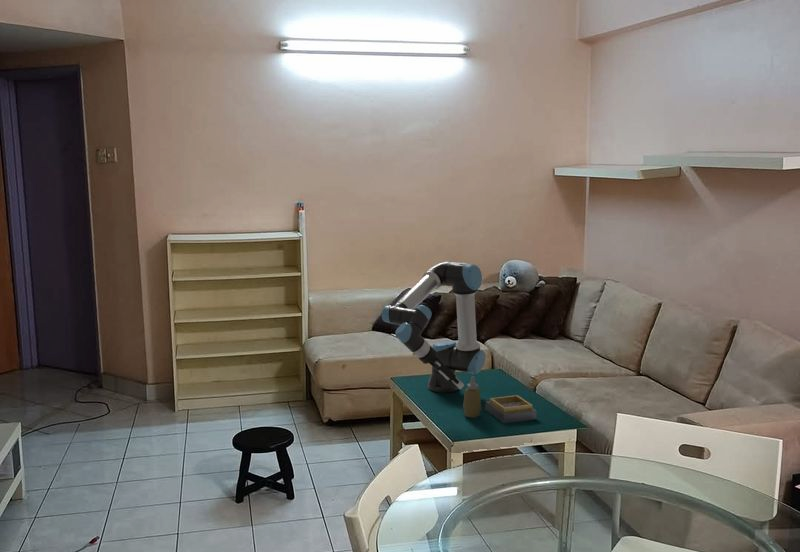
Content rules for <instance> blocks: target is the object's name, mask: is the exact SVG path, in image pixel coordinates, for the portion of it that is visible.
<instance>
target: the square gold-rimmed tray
mask: <svg viewBox="0 0 800 552" xmlns="http://www.w3.org/2000/svg"><path fill="white" fill-rule="evenodd" d="M484 409H485V411H486V412H488V414H490V415H491V416H493V417H494V418H496V419H497V420H498V421H500V422H501V423H503V424H509V423H517V422H526V421H532V420H533V421H534V420H537V415H538V414H537V413H538V412H537V409H535V408H534V405H533V404H532V403H530V402H529V401H527V400H525V398H523V397H521V396H520V395H518V394H515V395H506V396H499V397H489V400H486V401H485V408H484Z"/></svg>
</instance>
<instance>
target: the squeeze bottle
mask: <svg viewBox="0 0 800 552" xmlns="http://www.w3.org/2000/svg"><path fill="white" fill-rule="evenodd" d="M463 397H464V398H463V404H462V409H463V412H464V416H465V417H468V418H479V415H480V412H481V411H482V403H481V390H480V389H479V384H478V383H476V379H475V376H474V375H473V376H471V377H470V381H469V383H467V386H466V389H464V396H463Z"/></svg>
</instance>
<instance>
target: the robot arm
mask: <svg viewBox="0 0 800 552" xmlns="http://www.w3.org/2000/svg"><path fill="white" fill-rule="evenodd" d="M482 282H483V275H482V271H481V269H480V267H478V265H476V264H473V263H470V262H458V261H452V260H451V261H450V260H446V261H443V262H442V261H441V262H440V263H437V264H434V266H432V267H430V268H429V269H428V270H426V271H425V272H424V273H423V275H422V278H421V279H420V280H419V281H418V282H417V283H416V284H415V285H413V286H412V287H411V289H409V290H408V291H407V292H406V293H405V294H404V295H403V296H401V298H400V299H399V300H397V301H396V303H394V305H385V306H384V307H383V308H382V311H381V319H382V321H383V322H385V323H388V324H391V325H398V327H397V328H396V330H395V337H396V338H397V339H398V340H399V341H400V343H401V344H403V345H404V346H405V347H406V349H408V350H409V351H410V352H411V353H412V356H416V357H417V359H419V360H420V361H421V363H422V364H425V365H427V364H429V365H431V373H430V376H429V379H428V382H427V389H428V390H430V391H432V392H435V393H453V392H456V391H458V390H462V388H464V386H465V384H464V383H463V382H462V381H461V380H460V379H459V378H458V376H457V374H456V371H458V372H462V373H466V374H473V375H476V374H478V373H480V372H481V371H482V369H483V367H484V365H485V363H486V352H485V351H484V350H483V349H481V344H480V343H479V342H478V341H477V324H476V323H477V322H476V321H477V320H476V305H475V304H476V301H475V300H476V299H475V297H476V296H475V295H476V294H477V292H478V290H479V289H480V288H481V285H482ZM445 286H446V287H451V288H452V291H451V292H452V293H453V295H455V301H456V320H457V337H458V339H457V340H458V342H456V341H455V340H454V341H453V340H442V341H437V342H435V343H434V344H432V345H430V343H429V342H428V341H427V340H426V339H425V338H423V336H422V333H423V332H424V330H425V328H426V327H427V325H428V324H429V322H430V319H431V318H432V311H431V309H430V308H429V307H428V306H426V305H423V304H421V303H422V302H423V301H424V300H425V299H426V298H427V297H429V295H430V294H431V293H432V292H433V291H435V290H439V288H441V287H445Z"/></svg>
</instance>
